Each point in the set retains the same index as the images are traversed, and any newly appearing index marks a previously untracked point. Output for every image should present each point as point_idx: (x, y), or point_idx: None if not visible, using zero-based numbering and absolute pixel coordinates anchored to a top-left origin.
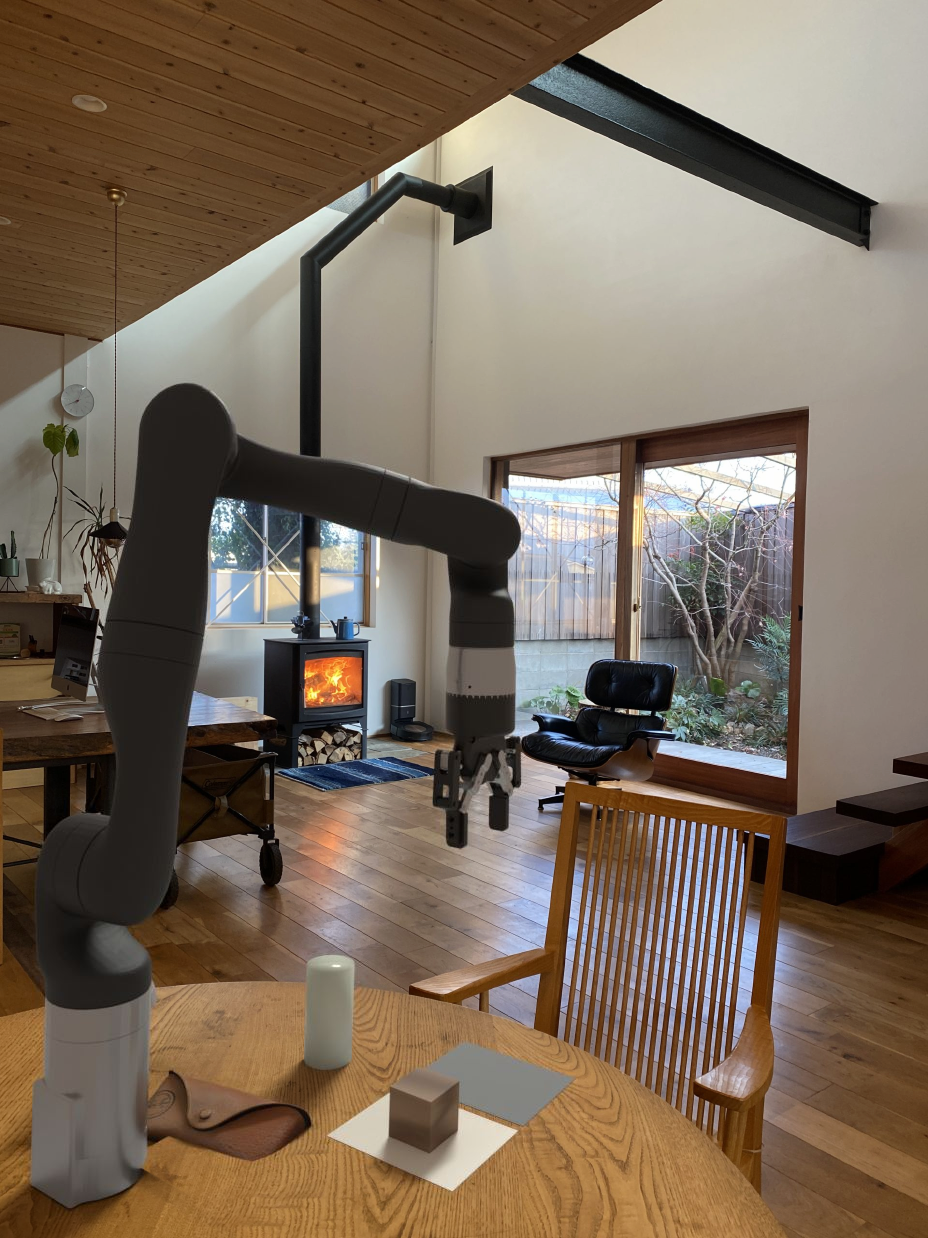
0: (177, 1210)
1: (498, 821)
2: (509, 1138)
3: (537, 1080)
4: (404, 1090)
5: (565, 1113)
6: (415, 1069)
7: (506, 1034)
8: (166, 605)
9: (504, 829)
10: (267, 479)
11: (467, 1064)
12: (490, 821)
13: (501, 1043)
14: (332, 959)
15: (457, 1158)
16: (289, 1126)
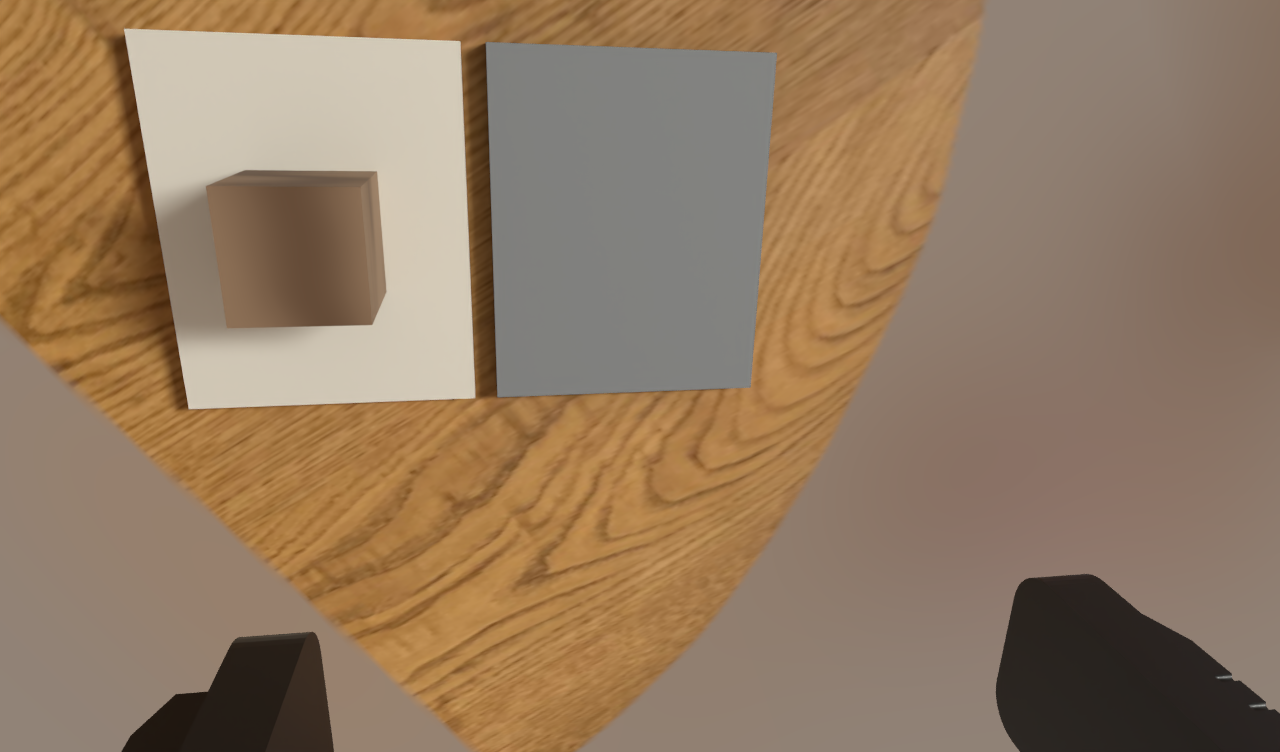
0: None
1: (1059, 709)
2: (437, 398)
3: (694, 323)
4: (220, 234)
5: (634, 413)
6: (337, 188)
7: (906, 107)
8: None
9: (1006, 716)
10: None
11: (666, 136)
12: (1064, 626)
13: (853, 123)
14: None
15: (291, 354)
16: None
